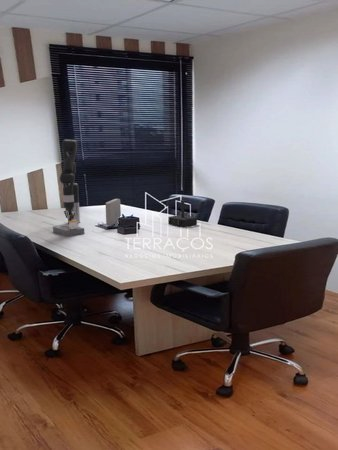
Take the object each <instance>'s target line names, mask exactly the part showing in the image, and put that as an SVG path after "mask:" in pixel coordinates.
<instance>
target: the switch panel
mask: <svg viewBox="0 0 338 450" xmlns="http://www.w3.org/2000/svg"><path fill="white" fill-rule="evenodd" d="M52 232H53V233H55V234H58V235H62V236H65V237H73V236H78V235H85V228H84V227H80V226H78V225H77V229H69V224H63V225H56V226H52Z"/></svg>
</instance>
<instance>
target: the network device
mask: <svg viewBox="0 0 338 450" xmlns="http://www.w3.org/2000/svg"><path fill="white" fill-rule="evenodd" d="M121 207H122V206H121V198H114V199H112V200H109V201H107V202H105V223H106V225H108V226H114V225H113V224H118V223H117V222H119V221H118V217H120V216H121V217H122V213H121V211H122V210H121ZM106 225H105V226H106Z"/></svg>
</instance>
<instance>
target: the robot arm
mask: <svg viewBox="0 0 338 450" xmlns="http://www.w3.org/2000/svg"><path fill="white" fill-rule="evenodd" d="M61 149H62V155H63V169H62V172H61V174H60V176H59V181H60V183H61V184H64V187H63V189H62V190H63V191H62V194H63V198H62V199H63V200H62V201H63V208H65V210H64V211H63V213H64V216H65V219H67V223H68V224H69V221H70V220H77V224H79V223H81V216H80V215H81V213H80V198H79V196H80V195H79V192H80V191H79V188H80V187H79V184H78V183H77V182H75V180H76V176H75V175H76V173H77V164H76V162H75V159H76V157H77V150H78V141H77V140H76V139H63V140H62V142H61ZM69 153H70V154H69ZM68 224H67V225H68Z"/></svg>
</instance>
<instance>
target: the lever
mask: <svg viewBox="0 0 338 450" xmlns="http://www.w3.org/2000/svg"><path fill="white" fill-rule="evenodd" d="M77 226H78V223H77V220H70V221H69V229H77Z"/></svg>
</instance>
